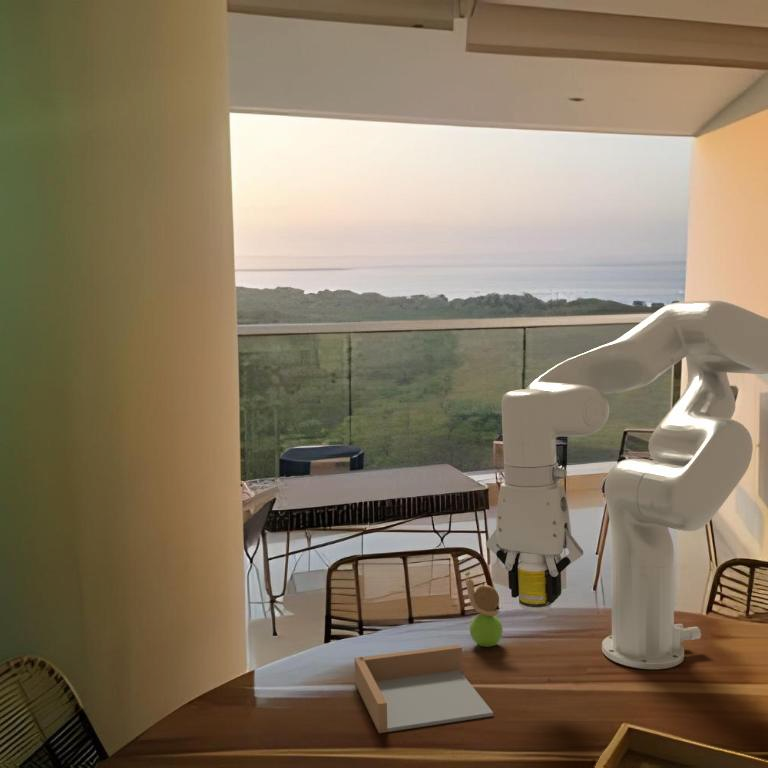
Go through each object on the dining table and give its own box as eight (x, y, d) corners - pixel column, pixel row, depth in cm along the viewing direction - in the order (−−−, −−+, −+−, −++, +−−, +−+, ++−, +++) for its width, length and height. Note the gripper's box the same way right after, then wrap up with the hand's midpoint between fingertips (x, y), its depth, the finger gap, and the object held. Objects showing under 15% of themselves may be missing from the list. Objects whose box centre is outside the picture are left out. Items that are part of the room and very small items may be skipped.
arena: (459, 669, 124) (459, 644, 123) (496, 715, 109) (496, 687, 109) (355, 683, 120) (354, 657, 119) (378, 733, 105) (378, 704, 105)
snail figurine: (474, 635, 137) (473, 567, 136) (508, 643, 133) (507, 573, 132) (459, 646, 132) (457, 576, 132) (493, 654, 129) (492, 582, 128)
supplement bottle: (551, 612, 113) (549, 555, 112) (518, 611, 114) (516, 554, 113) (551, 600, 118) (549, 544, 117) (519, 599, 119) (517, 544, 118)
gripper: (596, 473, 113) (600, 596, 115) (486, 466, 122) (491, 581, 124) (580, 484, 107) (584, 615, 108) (466, 476, 115) (471, 597, 117)
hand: (535, 595), depth 116 cm, fingers closed on supplement bottle, 4 cm apart
